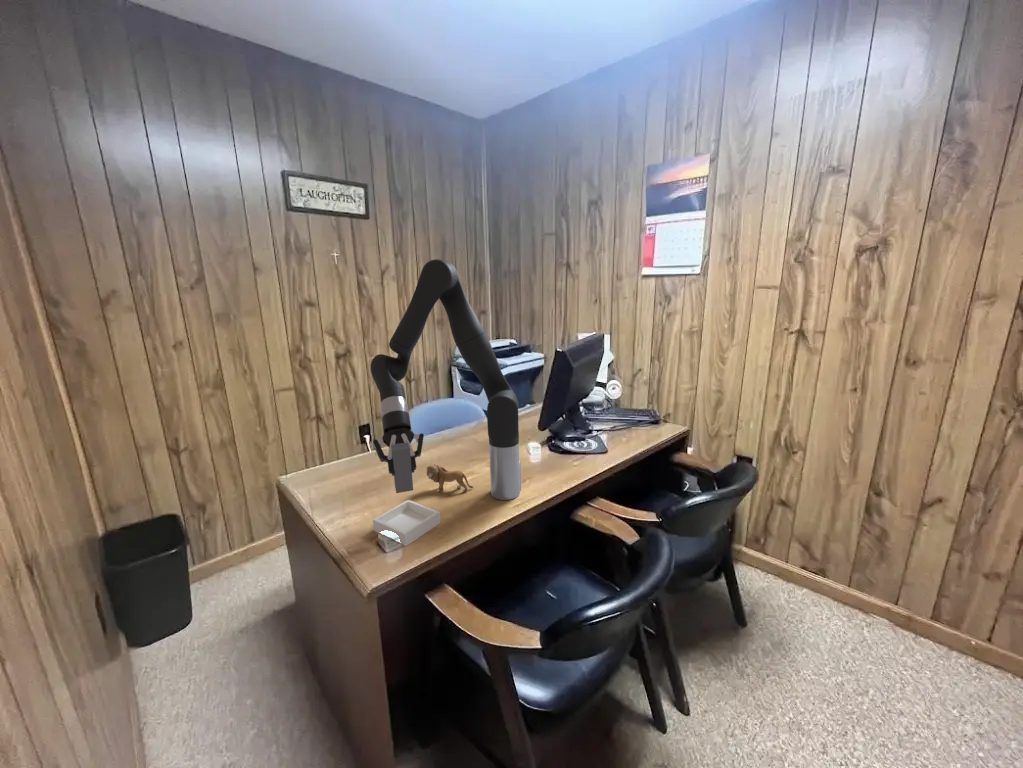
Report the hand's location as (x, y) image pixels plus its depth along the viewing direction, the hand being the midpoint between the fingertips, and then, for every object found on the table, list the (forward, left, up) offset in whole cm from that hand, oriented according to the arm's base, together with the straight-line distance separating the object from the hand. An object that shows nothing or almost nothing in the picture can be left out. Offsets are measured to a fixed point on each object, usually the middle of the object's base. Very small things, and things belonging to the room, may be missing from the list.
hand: (403, 472), depth 110 cm
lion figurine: (-23, -6, -17) cm, 30 cm away
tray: (-1, -2, -17) cm, 17 cm away
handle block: (-1, -2, -5) cm, 6 cm away
